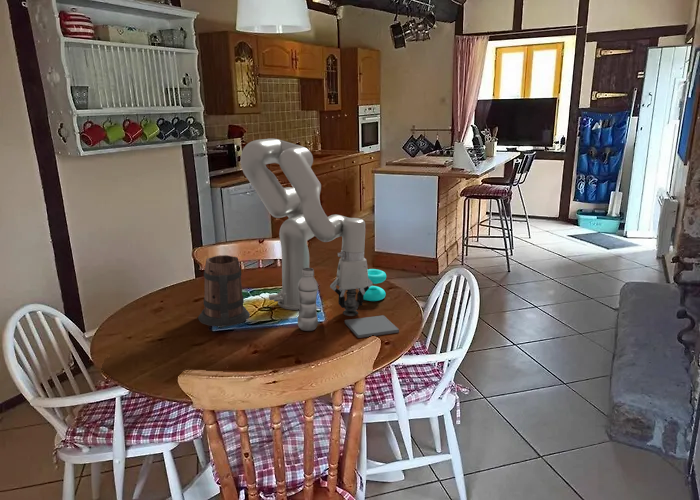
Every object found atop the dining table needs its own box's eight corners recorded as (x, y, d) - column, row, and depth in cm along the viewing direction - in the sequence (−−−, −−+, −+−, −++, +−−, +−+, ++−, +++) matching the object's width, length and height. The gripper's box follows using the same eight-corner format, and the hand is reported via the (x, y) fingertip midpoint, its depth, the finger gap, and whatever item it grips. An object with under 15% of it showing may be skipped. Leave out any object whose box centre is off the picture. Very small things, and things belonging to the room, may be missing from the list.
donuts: (361, 267, 197) (388, 269, 196) (360, 291, 200) (386, 293, 199) (357, 275, 188) (385, 277, 186) (356, 300, 191) (383, 303, 189)
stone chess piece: (357, 317, 176) (358, 283, 173) (340, 315, 177) (341, 282, 174) (360, 310, 182) (361, 278, 178) (344, 308, 183) (345, 276, 179)
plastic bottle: (302, 334, 162) (302, 274, 156) (294, 326, 167) (294, 267, 162) (321, 331, 164) (322, 271, 159) (312, 323, 170) (313, 265, 165)
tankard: (198, 308, 180) (195, 252, 174) (248, 305, 184) (246, 250, 178) (196, 337, 158) (193, 274, 152) (253, 332, 162) (251, 272, 157)
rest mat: (358, 338, 161) (358, 335, 160) (344, 322, 171) (344, 320, 171) (398, 332, 165) (399, 329, 165) (383, 317, 176) (383, 315, 176)
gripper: (332, 260, 167) (330, 312, 172) (380, 256, 173) (378, 306, 178) (324, 253, 174) (323, 304, 179) (372, 250, 180) (369, 299, 185)
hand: (350, 304), depth 179 cm, fingers closed on stone chess piece, 5 cm apart
